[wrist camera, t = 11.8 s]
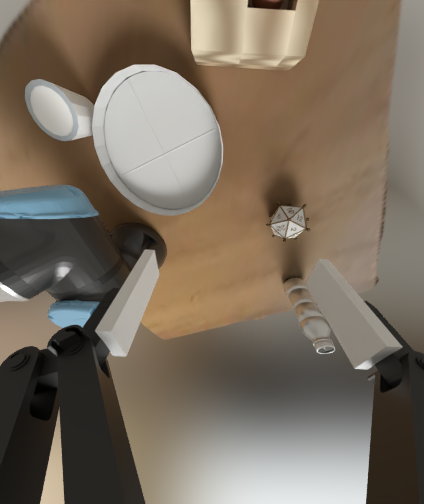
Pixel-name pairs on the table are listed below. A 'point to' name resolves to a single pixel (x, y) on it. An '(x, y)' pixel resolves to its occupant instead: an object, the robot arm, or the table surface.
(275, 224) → the game die
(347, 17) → the table surface
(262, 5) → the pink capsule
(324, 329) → the plastic bottle
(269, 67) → the birch block
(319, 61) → the table surface
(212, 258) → the table surface
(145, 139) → the dish
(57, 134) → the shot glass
